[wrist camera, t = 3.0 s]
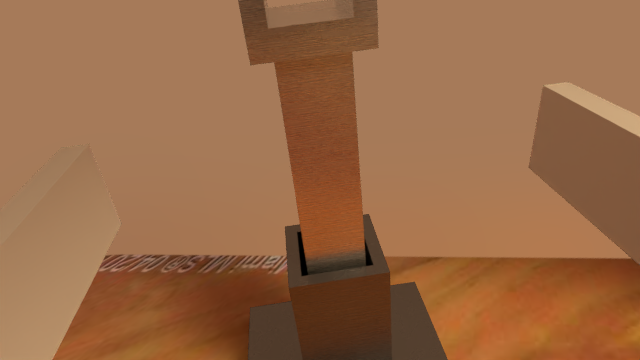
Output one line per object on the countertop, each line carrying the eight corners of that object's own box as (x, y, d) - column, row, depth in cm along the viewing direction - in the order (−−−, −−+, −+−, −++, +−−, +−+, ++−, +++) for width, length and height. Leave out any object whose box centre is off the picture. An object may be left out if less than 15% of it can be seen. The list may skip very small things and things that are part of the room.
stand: (414, 292, 42) (416, 170, 34) (487, 469, 28) (515, 326, 21) (253, 318, 41) (220, 198, 34) (246, 512, 27) (189, 379, 20)
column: (373, 330, 36) (351, -37, 22) (389, 391, 31) (376, -28, 17) (308, 340, 36) (242, -23, 21) (314, 404, 31) (236, -11, 17)
